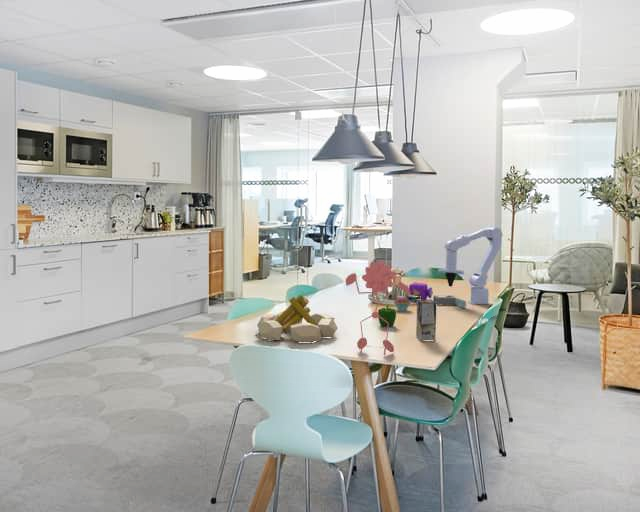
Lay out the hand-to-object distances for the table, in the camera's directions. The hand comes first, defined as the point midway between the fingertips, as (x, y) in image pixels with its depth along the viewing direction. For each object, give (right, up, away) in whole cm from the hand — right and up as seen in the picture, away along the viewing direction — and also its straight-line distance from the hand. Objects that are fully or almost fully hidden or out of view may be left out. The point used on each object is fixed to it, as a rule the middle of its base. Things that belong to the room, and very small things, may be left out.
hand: (450, 286), depth 335 cm
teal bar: (+4, -11, -8) cm, 14 cm away
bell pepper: (-42, -16, -59) cm, 74 cm away
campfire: (-83, -17, -78) cm, 115 cm away
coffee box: (-29, -18, -84) cm, 91 cm away
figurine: (-51, -20, -105) cm, 119 cm away
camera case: (-3, -10, +1) cm, 10 cm away
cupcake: (-30, -12, -20) cm, 38 cm away
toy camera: (-15, -9, +12) cm, 21 cm away
